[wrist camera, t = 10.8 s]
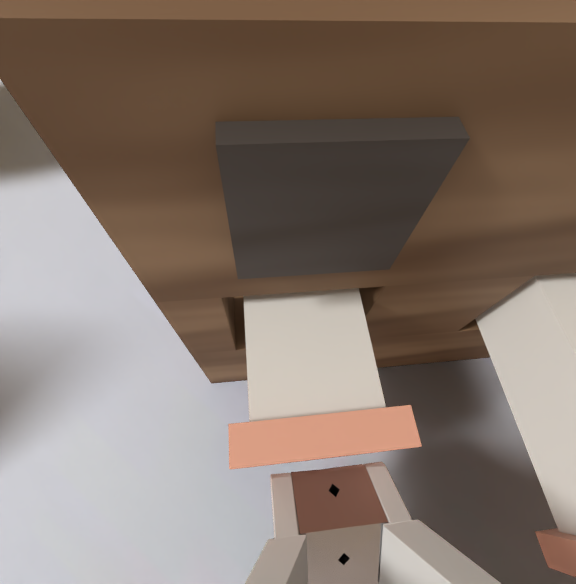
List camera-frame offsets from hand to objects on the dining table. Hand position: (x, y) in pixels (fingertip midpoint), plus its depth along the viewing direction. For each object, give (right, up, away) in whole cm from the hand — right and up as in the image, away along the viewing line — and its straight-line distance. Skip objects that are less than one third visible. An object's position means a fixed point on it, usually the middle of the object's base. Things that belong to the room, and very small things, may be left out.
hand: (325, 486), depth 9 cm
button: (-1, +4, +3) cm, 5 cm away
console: (+7, +4, +9) cm, 12 cm away
